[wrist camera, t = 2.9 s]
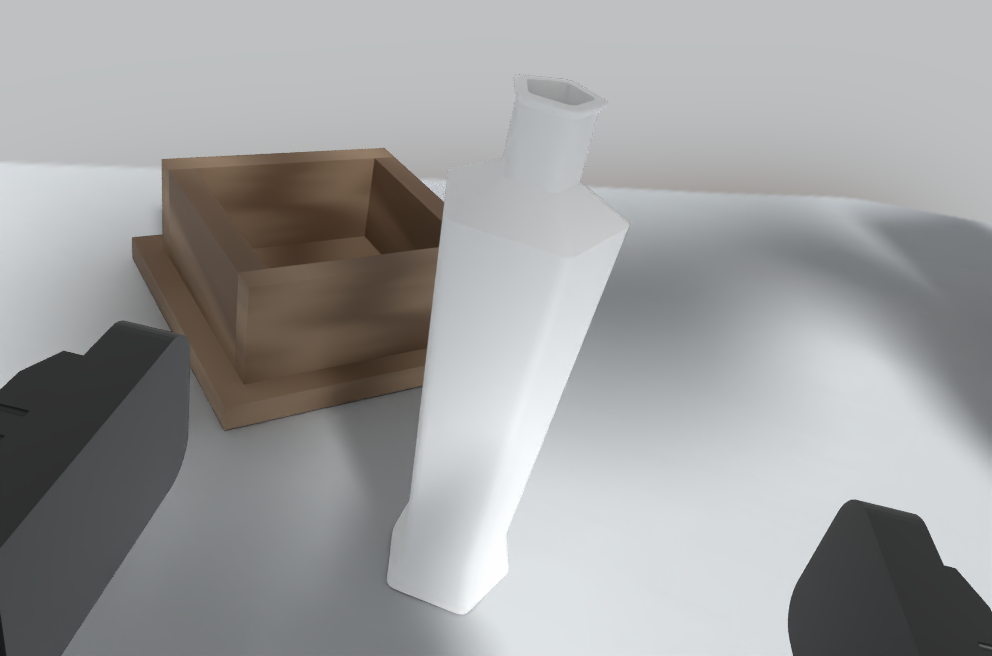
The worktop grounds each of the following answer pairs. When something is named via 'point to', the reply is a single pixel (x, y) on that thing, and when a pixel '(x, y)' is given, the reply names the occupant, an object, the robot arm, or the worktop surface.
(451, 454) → the perfume bottle
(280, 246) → the holder
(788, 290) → the worktop surface
